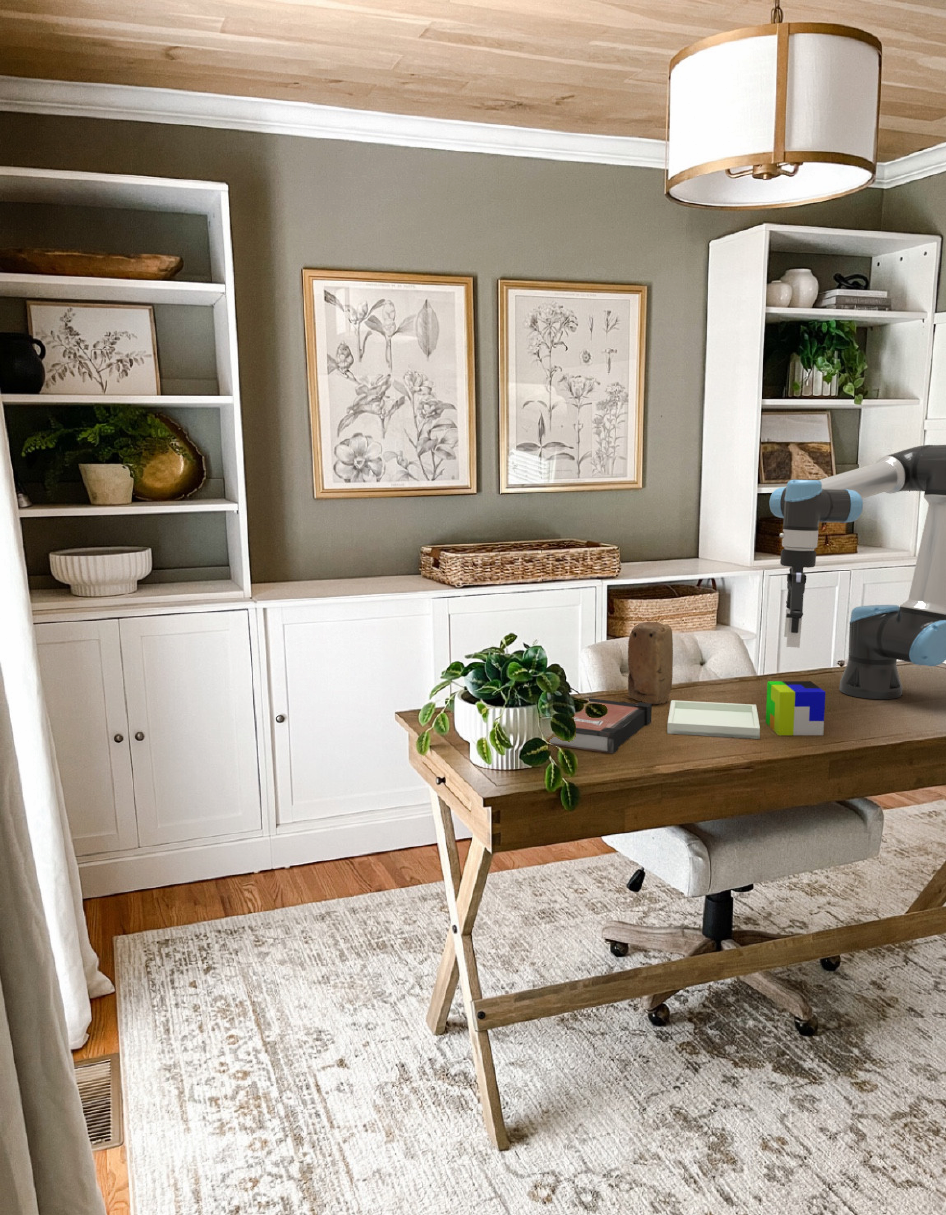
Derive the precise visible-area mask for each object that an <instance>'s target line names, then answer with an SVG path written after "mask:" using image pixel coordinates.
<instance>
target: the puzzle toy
mask: <svg viewBox="0 0 946 1215" xmlns="http://www.w3.org/2000/svg"><path fill="white" fill-rule="evenodd" d="M765 705H766V706H765V724H766V725H767V726H768V727H769V728H771V730H772V731H774V733H775V734H776V735H777V736H824V728H825V723H824V722H825V709H826V706H825V705H826V691H825V690H824V689H822V688H821V687H819V686H818V685H817V684H816V683H814V682H812V681H810V680H806V681H805V680H804V681H803V680H800V681H799V680H797V681H796V680H795V681H794V680H793V681H792V680H791V681H789V680H788V681H787V680H786V681H785V680H783V681H781V680H779V681H778V680H776V681H775V680H774V681H770V680H768V681H767V683H766V704H765Z"/></svg>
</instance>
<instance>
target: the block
mask: <svg viewBox="0 0 946 1215" xmlns="http://www.w3.org/2000/svg"><path fill="white" fill-rule="evenodd" d="M673 640H674V639H673V629H672V627H671V626H670V625H669V624H663V623H660V622H658V621H657V622H655V621H654V622H652V621H646V622H645V621H644V622H640V623H638V624H636V625H634V627H633V628H632V630H631V631H630V634H629V639H628V641H627V665H628V675H627V676H628V677H627V693H628V696H629V698H631V699H633V698H634V699H633V700H636V701H638V700H639V701H638V702H641V701H642V703H644V702H645V703H651V704H652V705H661V703H662V704H664V702H665V703H666V702H667V701H668V700H669V697H670V693H671V691H672V687H673V678H674V677H673V672H674V670H673V669H674V665H673V664H674V661H673V660H674V641H673Z"/></svg>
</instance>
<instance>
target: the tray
mask: <svg viewBox="0 0 946 1215" xmlns="http://www.w3.org/2000/svg"><path fill="white" fill-rule="evenodd" d="M757 709H758V708H757V704H748V703H746V704H745V703H731V702H727V703H726V702H711V701H709V702H708V701H691V700H690V701H688V700H673V699H672V700H671V701H670V705H669V711H668V712H669V713H668V718H667V730H666V731H667V734H669V735H670V734H671V735H685V736H701V737H702V736H704V737H718V738H719V737H721V738H732V737H734V738H735V739H749V738H750V740H752V739H753V740H760V739H761V738H760V735H761V734H760V733H761V732H760V730H761V728H760V722H759V721H760V720H759V715H758V714H759V713H758V710H757Z"/></svg>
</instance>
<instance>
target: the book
mask: <svg viewBox="0 0 946 1215" xmlns="http://www.w3.org/2000/svg"><path fill="white" fill-rule="evenodd" d="M588 698H589V701H590V702H594V703H599V704H602V705H605V706H606V707H607V709H608V714H606V715H605V716H603V717H601V718H591V717H589V716H587V715H586V713H585V709H584V710H583V711H581V712H580V713H577V714H575V716H574V721H575V723H576V737H575V739H574V740H573V741H570V742H568V741H562V740H560V739H558V738H557V737H553V738H552V739H550V741H549V742H550V743H552V744H554V745H553V746H558V747H564V748H565V747H566V748H570V749H571V748H572V749H578V750H586V751H593V752H597V753H598V752H599V753H606V754H612V755H613V754H615V753H616V752H618V751H619V750H620V749H619V747H621V746H622V745H623V744H624V743H625V742H627V741H628V740H629V739H630V738H631V737H632V736H634V735H635V734H636V733H638V732H639V731H640V730H642V728H644V727H647V726H649V725H650V724H652V714H653V713H652V706H653V704H651V703H644V702H641V701H638V702H637V703H632V702H624V701H617V700H616V701H615V700H609V699H608V700H607V699H601V698H599V699H598V698H592V697H588Z"/></svg>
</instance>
